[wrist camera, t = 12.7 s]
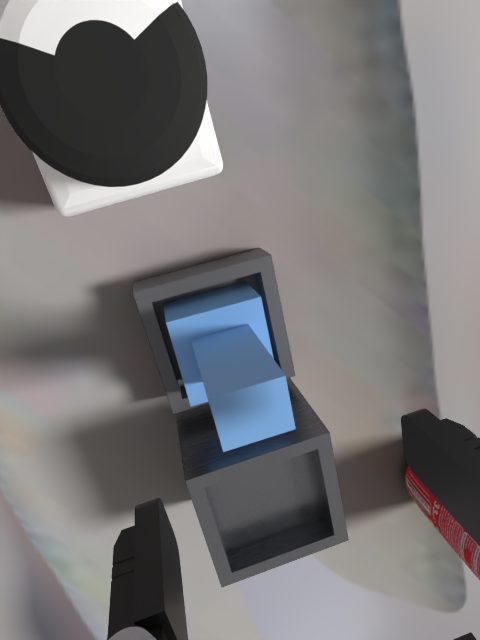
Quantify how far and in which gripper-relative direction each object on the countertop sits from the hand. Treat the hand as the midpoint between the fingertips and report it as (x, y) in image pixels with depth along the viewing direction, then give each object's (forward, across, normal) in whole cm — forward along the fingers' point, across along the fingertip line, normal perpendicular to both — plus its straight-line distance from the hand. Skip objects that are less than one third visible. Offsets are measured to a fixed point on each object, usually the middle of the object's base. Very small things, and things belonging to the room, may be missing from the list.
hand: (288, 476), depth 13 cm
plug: (+14, 0, 0) cm, 14 cm away
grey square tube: (+15, 0, +9) cm, 18 cm away
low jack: (+15, 0, 0) cm, 15 cm away
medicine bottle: (+16, +2, -12) cm, 20 cm away
